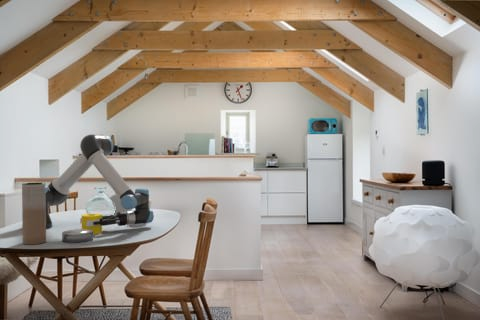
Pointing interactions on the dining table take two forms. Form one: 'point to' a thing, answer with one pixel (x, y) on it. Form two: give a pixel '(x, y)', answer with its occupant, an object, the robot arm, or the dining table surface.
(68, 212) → the dining table surface
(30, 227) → the vase
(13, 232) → the dining table surface
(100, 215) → the tape roll
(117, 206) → the soap bottle
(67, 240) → the grey metal disc
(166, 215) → the dining table surface
